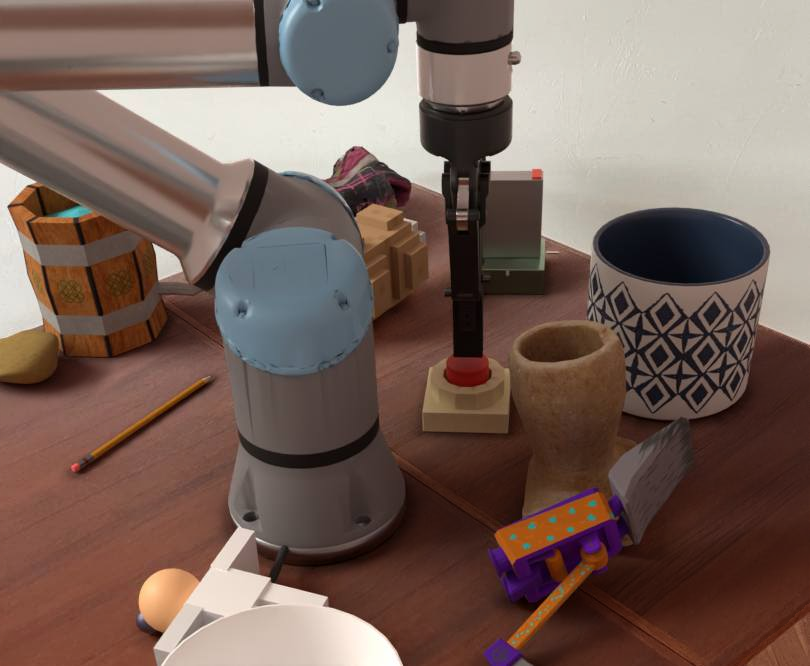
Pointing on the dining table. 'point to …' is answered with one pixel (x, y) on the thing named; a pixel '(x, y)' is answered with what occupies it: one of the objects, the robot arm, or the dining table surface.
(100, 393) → the dining table surface
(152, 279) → the mug
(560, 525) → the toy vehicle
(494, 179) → the tap handle
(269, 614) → the bowl
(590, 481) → the stone cup
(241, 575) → the figurine
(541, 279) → the tap panel
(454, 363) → the red button
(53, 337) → the potato
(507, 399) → the button box
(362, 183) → the athletic shoe
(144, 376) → the dining table surface
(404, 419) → the dining table surface
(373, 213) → the roast turkey
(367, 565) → the dining table surface
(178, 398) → the pencil
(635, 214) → the planter
